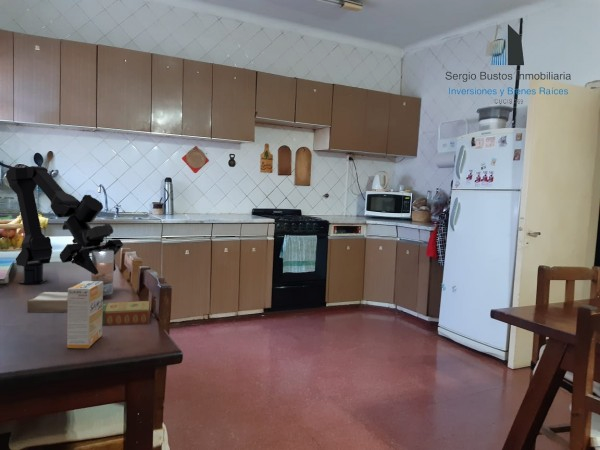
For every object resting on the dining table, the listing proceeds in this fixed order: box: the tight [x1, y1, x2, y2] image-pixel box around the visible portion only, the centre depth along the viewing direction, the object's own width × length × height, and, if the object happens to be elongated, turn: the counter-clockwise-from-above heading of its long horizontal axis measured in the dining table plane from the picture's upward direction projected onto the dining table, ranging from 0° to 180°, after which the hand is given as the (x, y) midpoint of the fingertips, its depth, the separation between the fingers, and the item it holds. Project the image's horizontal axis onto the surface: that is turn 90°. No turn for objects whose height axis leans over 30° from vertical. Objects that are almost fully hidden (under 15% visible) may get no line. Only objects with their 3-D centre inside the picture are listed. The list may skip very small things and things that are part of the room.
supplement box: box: [66, 280, 104, 349], centre depth 98 cm, size 8×5×13 cm, turn 5°
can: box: [90, 249, 115, 296], centre depth 134 cm, size 6×6×13 cm
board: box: [26, 291, 68, 313], centre depth 123 cm, size 10×10×3 cm
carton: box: [102, 300, 151, 326], centre depth 115 cm, size 8×16×4 cm, turn 107°
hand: (105, 272), depth 134 cm, fingers closed on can, 6 cm apart
